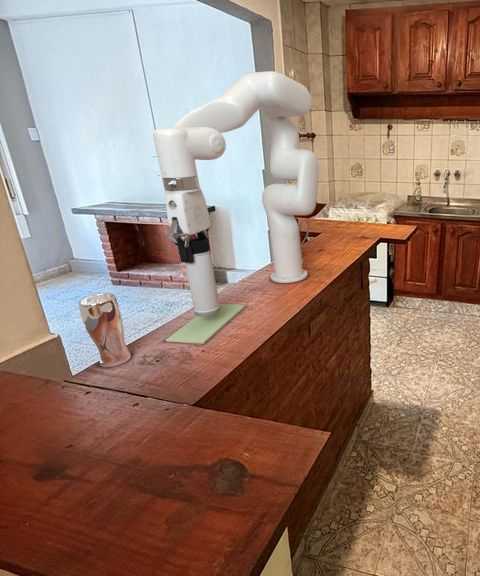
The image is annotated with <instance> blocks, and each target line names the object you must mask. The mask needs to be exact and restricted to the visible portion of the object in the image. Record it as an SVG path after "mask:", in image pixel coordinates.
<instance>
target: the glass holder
mask: <svg viewBox="0 0 480 576" xmlns="http://www.w3.org/2000/svg"><path fill="white" fill-rule="evenodd" d="M295 219H296V221H297V224H298V227H299V237H300V238H301V231H302V223H303V222H304V221H306V223H307V231H306V235H305V237H304V238H303V240H300V248H301V249H302V245H303V244H304V243H305V242H306V240H307V239H308V237H309V232H310V222H309V220H308V219H305V218H304V219H303V218H302V219H301V220H300V222H299V218H297V217H295ZM303 256H304V254H303V252H302V250H301V258H303Z"/></svg>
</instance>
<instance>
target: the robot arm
mask: <svg viewBox="0 0 480 576" xmlns="http://www.w3.org/2000/svg"><path fill="white" fill-rule="evenodd" d="M312 106H313V100H312V95H311V93H310V91H309V90H308V88H307V87H306V86H304V84H302V83H300V82H298V81H296V80H295V79H292V78H291V77H289V76H288V75H285V74H283V73H281V72H278V71H274V70H273V71H272V70H268V71H267V70H266V71H255V72H253V71H252V72H248V73H245V74H243V75H241V76H240V77H239V78H238V79H237V80H236V81H234V82H233V83H232V85H230V86H229V87H228V88H227V89H226V90H225V91H224V92H223V93H222V94H221V95H220V96H218V97H217V98H215V99H212V100H211V101H209V102H207V103H205V104H203V105H201V106H200V107H197V108H195V109H193V110H191V111H190V112H188V113H187V114H185V115H183V116H182V117H181V118H180V119H179V120H178V121H177V122H175V124H173V125H172V126H171V127H161V128H156V129H155V130H154V131H153V133H152V137H153V142H154V146H155V147H154V148H155V151H156V152H155V153H156V156H157V161H158V165H159V171H160V175H161V179H162V183H163V184H162V185H163V188H164V195H165V196H164V198H165V208H166V216H167V221H168V222H167V223H168V226H169V228H168V231H167V238H168V239H169V240H170V241H171V242H172V243H173V244H174V245H175V247H176V248H177V250H178V255H179V260H180V263H184V264H185V263H193V262H194V258H193V253H192V248H191V246H189V239H191V237H190V236H194V235H195V237H196V238H195V239H199V240H204V239H207V240H208V243H209V244H210V242H209V236H210V235H209V230H210V227H211V219H210V213H209V210H208V206H207V201H206V199H205V195H204V192H203V191H202V189H201V187H200V181H199V176H198V170H197V166H196V165H197V164H196V160H197V161H213V160H217V159H219V158H221V157H222V156H223V155H224V153H225V151H226V149H227V144H226V140H225V138H224V136H223V134H224V133H227V132H232V131H235V130H237V129H240V128H242V127H244V126H245V125H246V124H247V123H248V121H249V120H251V118H253V116H254V115H255V114H256V113H257V112H258V111H259V110H260V111H261V112H262V114H263V115H264V117H265V119H266V121H267V122H268V125H269V127H270V131H271V144H270V157H269V170H270V171H269V172H270V174H271V176H272V177H273V178H275V179H277V180H279V181H280V180H281V181H295V182H296V181H297V183H296V184H295V183H293V184H292V183H272V184H268V185H267V186H266V187H265V188H264V189H263V191H262V193H261V194H262V195H261V201H262V202H261V203H262V206H263V208H264V211H265V215H266V218H267V223H268V230H269V238H270V247H271V255H272V262H273V270H274V271H273V272H272V273H271V274H270V275H269V276H270V280H271V281H273V282H275V283H278V284H290V283H297V282H300V281H303V280H305V279H306V278H307V277H308V276H309V275H308V271H307V270H306V269H303V268H304V267H303V263H304V259H303V257H301V251H302V247H301V248H300V241H301V236H300V237H299V230H300V226H299V227H298V224H299V223H298V224H297V221H296V219H295V218H296V217H295V216H310V215H312V214H313V212H314V211H315V209H316V206H317V199H318V190H319V178H320V162H319V160H318V157H317V155H316V154H315V152H313V150H310V149H306V148H299V147H300V134H299V130H298V128H297V127H296V125H295V123H294V122H293V120H292V118H293V117H304V116H307V115H308V114H309V113H310V111H311V109H312ZM291 117H292V118H291ZM209 249H210V250H211V247H210V246H209Z"/></svg>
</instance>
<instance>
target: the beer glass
mask: <svg viewBox="0 0 480 576" xmlns="http://www.w3.org/2000/svg"><path fill="white" fill-rule="evenodd" d="M77 305H78V308H79V314H80V318H81V320H82V324H83V326H84V328H85V330H86V333H87V334H88V335H89V337H90V339H91V341H92V342H93V344H94V346H95V348H96V351H97V354H98V364H99V366H100V367H103V368H111V367H117V366H120V365H122V364H124V363H126V362H128V361H129V360H130V359H131V358H132V354H131V352H130V350H129V348H128V346H127V343H126V340H125V327H124V317H123V314H122V310H121V308H120V304H119V302H118V300H117V298H116V294H115V293H113V292H112V293H111V292H102V293H96V294H91V295H88V296H85V297H83V298H81V299H79V300H78V301H77ZM102 359H103V360H102ZM99 361H100V362H99Z"/></svg>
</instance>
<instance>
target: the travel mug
mask: <svg viewBox="0 0 480 576" xmlns="http://www.w3.org/2000/svg"><path fill="white" fill-rule="evenodd" d="M208 241H209V239H208V240H207V239H204V240H199V239H196V238H189V246H191V248H192V253H193V258H194V262H193V263H184V266H185V267H184V268H185V271H186V276H187V280H188V287H189V291H190V296H191V301H192V307H193V311H194V314H195V315H196V316H201V317H205V316H211V315H214V314H216V313H218V312H219V311H220V305H219V304H220V299H219V294H218V287H217V282H216V276H215V271H214V263H213V259H212V253H211V248H210V249H209V247H210V242H209V243H208Z"/></svg>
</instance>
